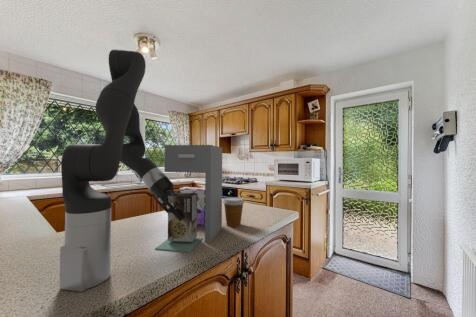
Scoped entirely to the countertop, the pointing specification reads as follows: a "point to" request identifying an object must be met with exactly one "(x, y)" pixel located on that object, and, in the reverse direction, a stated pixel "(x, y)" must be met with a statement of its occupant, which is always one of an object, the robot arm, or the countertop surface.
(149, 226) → the countertop surface
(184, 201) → the coffee box
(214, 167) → the grey tall hooked frame
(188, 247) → the mat
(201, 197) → the candy box
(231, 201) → the disposable coffee cup
